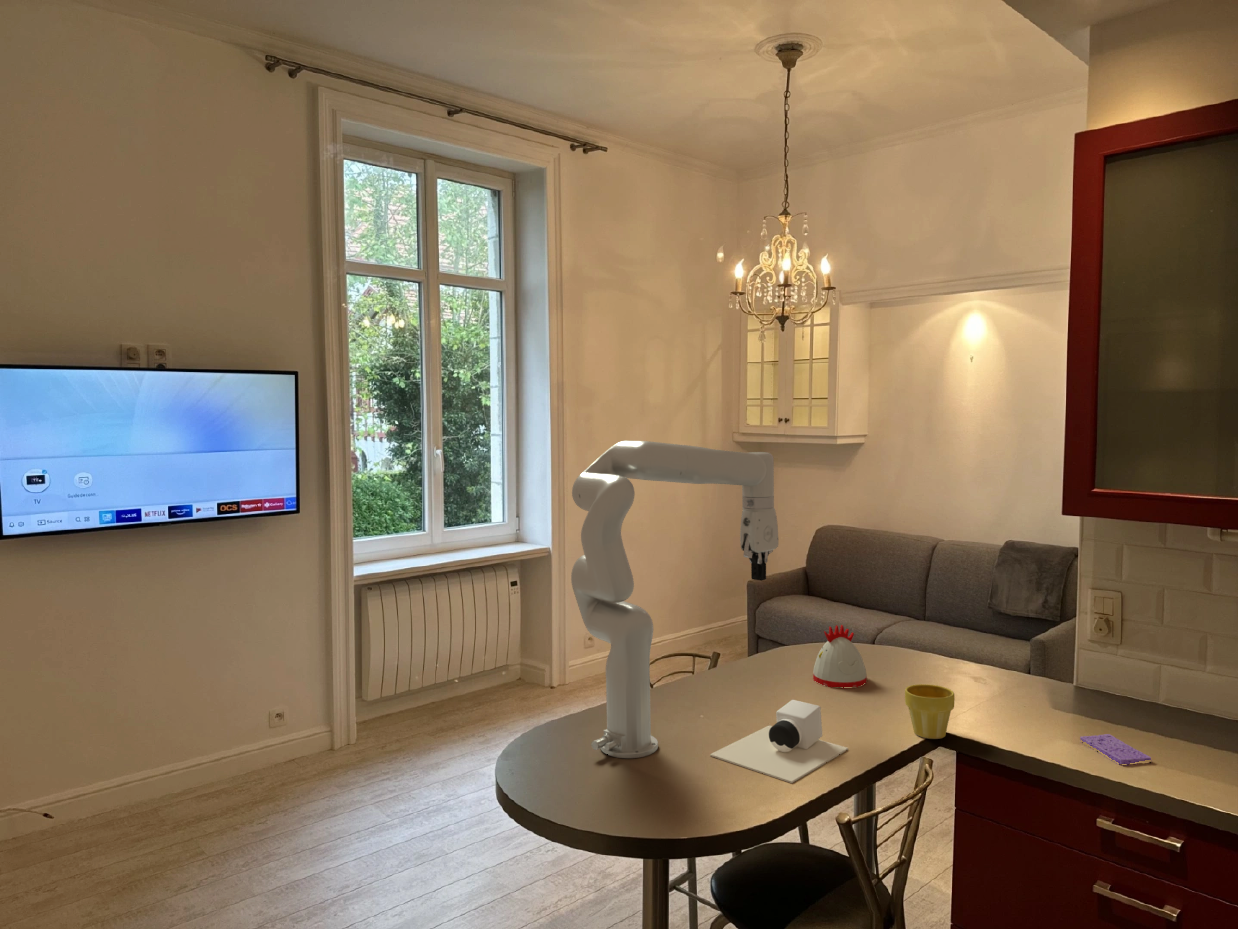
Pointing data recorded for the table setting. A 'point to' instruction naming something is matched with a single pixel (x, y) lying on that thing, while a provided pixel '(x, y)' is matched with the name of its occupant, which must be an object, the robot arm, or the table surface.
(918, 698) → the plant pot
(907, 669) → the table surface
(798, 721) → the medicine bottle
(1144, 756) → the sponges
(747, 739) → the mat
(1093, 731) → the table surface
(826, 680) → the kitchen timer
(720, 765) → the table surface
